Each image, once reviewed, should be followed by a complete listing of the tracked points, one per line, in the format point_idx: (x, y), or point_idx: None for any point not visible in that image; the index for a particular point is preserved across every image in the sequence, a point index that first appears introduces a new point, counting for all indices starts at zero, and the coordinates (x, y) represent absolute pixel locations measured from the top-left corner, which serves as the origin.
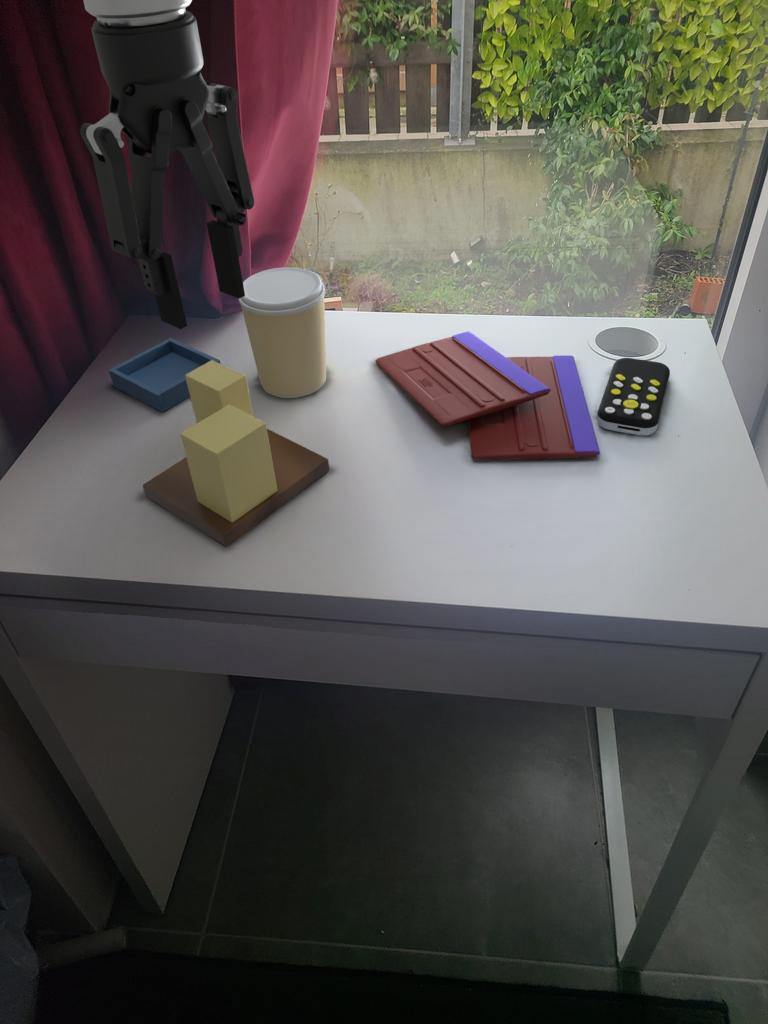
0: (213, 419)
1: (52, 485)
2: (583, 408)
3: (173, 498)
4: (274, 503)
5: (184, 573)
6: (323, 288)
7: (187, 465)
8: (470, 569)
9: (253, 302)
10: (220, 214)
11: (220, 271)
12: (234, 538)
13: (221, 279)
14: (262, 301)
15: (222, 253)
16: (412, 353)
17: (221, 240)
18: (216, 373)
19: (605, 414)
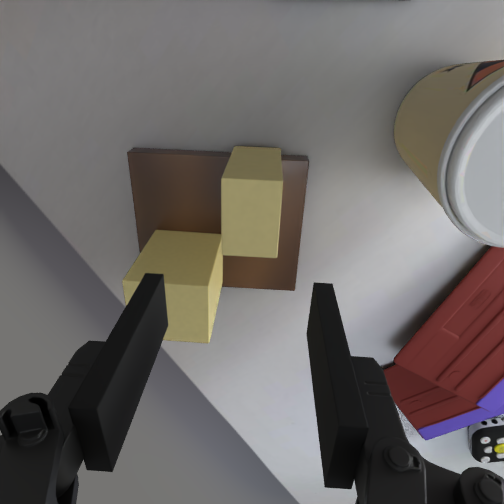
0: (170, 294)
1: (50, 8)
2: (488, 416)
3: (140, 203)
4: None
5: (101, 266)
6: None
7: (188, 171)
8: (256, 414)
9: (453, 168)
10: (364, 490)
11: (316, 331)
12: None
13: (315, 315)
14: (465, 181)
15: (321, 387)
16: None
17: (323, 427)
18: (255, 218)
19: (478, 438)
